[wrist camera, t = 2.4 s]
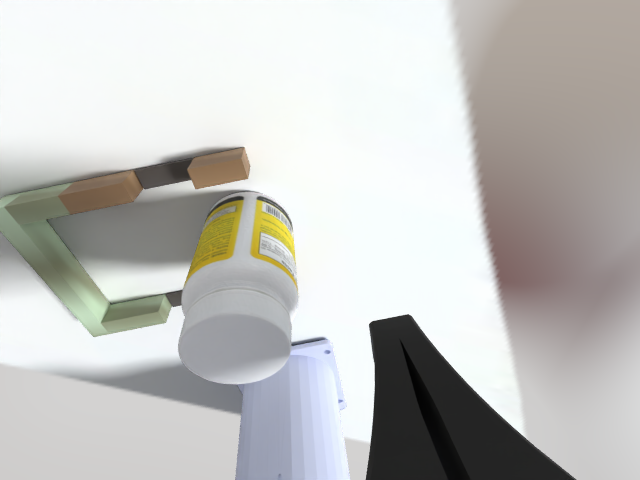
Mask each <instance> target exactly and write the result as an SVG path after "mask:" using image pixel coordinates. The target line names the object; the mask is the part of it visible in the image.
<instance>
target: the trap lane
mask: <svg viewBox="0 0 640 480" xmlns="http://www.w3.org/2000/svg"><path fill="white" fill-rule="evenodd" d="M249 171H250V164H249V161H248V157H247V154H246V151H245V148H244V147H243V148H238V149H233V150H228V151H224V152H219V153H214V154H209V155H204V156H199V157H194V159H192V158H189V159H184V160H179V161H174V162H170V163H165V164H160V165H155V166H150V167H145V168H140V169H136V170H135V171H134V170H130V171H125V172H120V173H116V174H111V175H106V176H101V177H96V178H91V179H86V180H81V181H76V182H71V183H66V184H62V185H57V186H52V187H47V188H42V189H37V190H32V191H27V192H22V193H17V194H12V195H7V196H4V197H3V198H1V199H0V232H1V233H2V234H3V235H4V236H5V237H6V238H7V240H8V241H9V242H10V243H11V244H12V245H13V246H14V247H15V249H16V250H17V251H18V252H19V253H20V254H21V255H22V257H23V258H24V259H25V260H26V261H27V262H28V263H29V264H30V266H31V267H32V268H33V269H34V270H35V271H36V272H37V274H38V275H39V276H40V277H41V278H42V279H43V280H44V281H45V283H46V284H47V285H48V286H49V287H50V288H51V289H52V291H53V292H54V293H55V294H56V295H57V296H58V297H59V298H60V300H61V301H62V302H63V303H64V304H65V305H66V306H67V308H68V309H69V310H70V311H71V312H72V313H73V314H74V316H75V317H76V318H77V319H78V320H79V321H80V322H81V323H82V325H83V326H84V327H85V328H86V329H87V330H88V331H89V333H90V334H91V335H92V336H93V337H97V336H102V335H107V334H112V333H117V332H122V331H127V330H132V329H137V328H142V327H147V326H152V325H157V324H163V323H166V320H167V318H168V315H169V312H170V309H171V307H172V306H173V307H175V306H180V305H182V304H181V301H182V292H183V291H178V292H173V293H168V294H167V295H166V294H163V295H158V296H153V297H148V298H143V299H138V300H132V301H127V302H122V303H117V304H112V305H111V304H110V303H109V301H108V300H107V299H106V297H105V296H104V295H103V294H102V292H101V291H100V290H99V288H98V287H97V286H96V284H95V283H94V282H93V281H92V279H91V278H90V277H89V275H88V274H87V273H86V271H85V270H84V269H83V267H82V266H81V265H80V264H79V262H78V261H77V260H76V258H75V257H74V256H73V254H72V253H71V252H70V251H69V249H68V248H67V247H66V245H65V244H64V243H63V241H62V240H61V239H60V237H59V236H58V235H57V234H56V232H55V231H54V230H53V228H52V227H51V226H50V224H49V223H48V222H47V219H52V218H56V217H61V216H66V215H71V214H76V213H81V212H86V211H91V210H96V209H101V208H106V207H111V206H116V205H121V204H126V203H131V202H133V201H134V200H135V199H136V197H137V196H138V195H139V194H140V192H141V191H142V190H143V188H144V189H149V188H154V187H159V186H163V185H168V184H173V183H178V182H183V181H188V180H192V182H193V184H194V187H195V189H200V188H205V187H210V186H215V185H220V184H224V183H229V182H234V181H239V180H244V179H248V176H249Z"/></svg>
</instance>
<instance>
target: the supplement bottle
mask: <svg viewBox="0 0 640 480" xmlns="http://www.w3.org/2000/svg"><path fill="white" fill-rule="evenodd" d="M181 304H182V310H183V313H184V316H185V319H184V323H183V327H182V331H181V335H180V339H179V344H178V352H179V356H180V359H181V361H182V362H183V364H184V365H185V366H186V367H187V369H189V370H190V371H191V372H192V373H194V374H196V375H197V376H199V377H201V378H203V379H206V380H209V381H212V382H216V383H222V384H246V383H252V382H256V381H260V380H262V379H265V378H267V377H269V376H271V375H273V374H275V373H276V372H277V371H279V370H280V369H281V368H282V367H283V366H284V365H285V363H286V362H287V360H288V358H289V356H290V352H291V330H292V326H291V322H292V321H293V319H294V317H295V315H296V312H297V308H298V287H297V274H296V262H295V250H294V239H293V227H292V222H291V219H290V217H289V214H288V213H287V211H286V210H285V208H284V207H283V206H282V205H281V204H280V203H279V202H277V201H276V200H274V199H273V198H271V197H269V196H267V195H264V194H261V193H256V192H240V193H235V194H231V195H228V196H226V197H224V198H222V199H221V200H219V201H218V202H217V203H216V204H215V205H214V206H213V207H212V209H211V210H210V212H209V214H208V216H207V218H206V221H205V224H204V227H203V230H202V233H201V236H200V239H199V242H198V245H197V248H196V251H195V254H194V257H193V260H192V263H191V266H190V270H189V273H188V276H187V279H186V281H185V284H184V288H183V292H182V301H181Z"/></svg>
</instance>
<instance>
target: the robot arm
mask: <svg viewBox="0 0 640 480" xmlns="http://www.w3.org/2000/svg"><path fill="white" fill-rule="evenodd" d="M369 328H370V336H371V344H372V352H373V359H374V363H375V395H374V413H373V426H372V436H371V445H370V453H369V461H368V468H367V475H366V480H576V479H575V478H574V477H572V476H571V475H570V474H569V473H567V472H566V471H565V470H564V469H562V468H561V467H560V466H559V465H557V464H556V463H555V462H554V461H552V460H551V459H550V458H549V457H547V456H546V455H545V454H544V453H542V452H541V451H540V450H539V449H537V448H536V447H535V446H534V445H533V444H532V443H530V442H529V441H528V440H527V439H526V438H525V437H523V436H522V435H521V434H520V433H519V432H518V431H517V430H515V429H514V428H513V427H512V426H511V425H510V424H509V423H508V422H507V421H505V420H504V419H503V418H502V417H501V416H500V415H499V414H498V413H497V412H496V411H495V410H494V409H493V408H491V407H490V406H489V405H488V404H487V403H486V402H485V401H484V400H483V399H482V398H481V397H480V396H479V395H478V394H477V393H476V392H475V391H474V390H473V389H472V388H471V387H470V386H469V385H468V384H467V383H466V381H465V380H464V379H463V378H462V377H461V376H460V375H459V374H458V373H457V372H456V371H455V370H454V368H453V367H452V366H451V365H450V364H449V363H448V362H447V361H446V359H445V358H444V357H443V356H442V355H441V354H440V353H439V351H438V350H437V349H436V348H435V346H434V345H433V344H432V343H431V342H430V340H429V339H428V338H427V337H426V335H425V334H424V333H423V331H422V330H421V329H420V327H419V326H418V325H417V323H416V322H415V320H414V319H413V317H412V316H411V315H409V314H407V315H402V316H397V317H392V318H387V319H382V320H377V321H372V322H371V323H370V324H369ZM237 386H238V387H239V389H240V391H241V393H242V394H243V402H242V412H241V424H240V434H239V445H238V455H237V467H236V477H235V480H350V475H349V469H348V462H347V456H346V450H345V442H344V436H343V429H342V423H341V416H340V410H343V409H345V408H346V407H347V405H346V400H345V395H344V391H343V387H342V383H341V378H340V374H339V370H338V366H337V361H336V357H335V353H334V349H333V344H332V342H331V341H330V340H321V341H316V342H311V343H306V344H301V345H296V346H291V352H290V356H289V358H288V360H287V362H286V363H285V365H284V366H283V367H282V368H281V369H280V370H279V371H277V372H276V373H275V374H273V375H271V376H269V377H267V378H265V379H262V380H260V381H256V382H252V383H246V384H237Z"/></svg>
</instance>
